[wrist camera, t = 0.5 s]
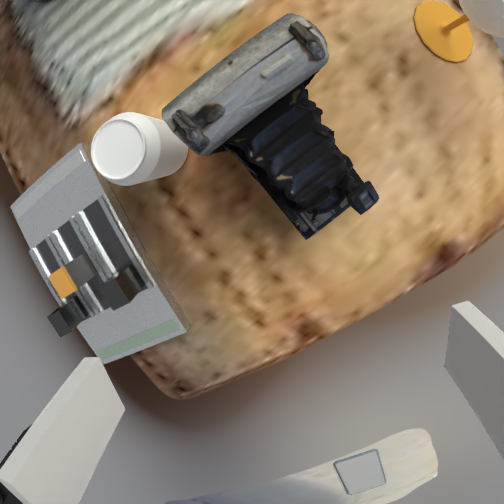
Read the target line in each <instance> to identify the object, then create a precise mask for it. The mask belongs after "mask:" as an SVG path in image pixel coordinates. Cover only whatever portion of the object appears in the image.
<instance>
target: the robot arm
mask: <svg viewBox="0 0 504 504" xmlns="http://www.w3.org/2000/svg"><path fill="white" fill-rule="evenodd" d="M33 1H35V2H47V1H51V0H33ZM444 367H445V368H446V370H447V371H448V373H449V374H450V375H451V377H452V378H453V380H454V381H455V383H456V384H457V386H458V387H459V389H460V390H461V392H462V393H463V395H464V396H465V398H466V399H467V401H468V402H469V404H470V405H471V407H472V408H473V410H474V412H475V413H476V415H477V416H478V418H479V420H480V421H481V423H482V424H483V426H484V428H485V429H486V431H487V432H488V434H489V436H490V437H491V439H492V441H493V442H494V444H495V446H496V447H497V449H498V451H499V453H500V454H501V456H502V458H503V460H504V333H503V332H502V331H501V330H500V329H499V328H498V327H497V326H496V325H495V324H494V323H493V322H492V321H490V320H489V319H488V318H487V317H486V316H485V315H484V314H483V313H481V312H480V311H479V310H478V309H477V308H476V307H475V306H474V305H473V304H471V303H470V302H469V301H466V302H462V303H459V304H455V305H452V308H451V319H450V328H449V336H448V344H447V351H446V358H445V364H444ZM124 411H125V407H124V405H123V404H122V402H121V400H120V398H119V396H118V394H117V392H116V390H115V388H114V386H113V384H112V383H111V380H110V378H109V376H108V374H107V372H106V370H105V368H104V366H103V364H102V362H101V359H100V357H85V358H84V359H83V360H82V361H81V362H80V364H79V365H78V366H77V367H76V369H75V370H74V371H73V372H72V374H71V375H70V376H69V377H68V379H67V380H66V381H65V383H64V384H63V385H62V386H61V388H60V389H59V390H58V391H57V393H56V394H55V395H54V397H53V398H52V399H51V400H50V402H49V403H48V405H47V406H46V407H45V409H44V410H43V411H42V412H41V414H40V415H39V416H38V418H37V419H36V420H35V422H34V423H33V424H32V425H31V426H29V427H28V428H27V429H26V430H24V431H23V433H22V434H21V435H20V437H19V438H18V439H17V443H16V442H15V444H14V445H13V446H12V450H10V451H9V452H8V453H7V455H6V456H5V458H4V459H3V461H2V462H1V463H0V504H79V502H80V500H81V498H82V495H83V493H84V491H85V489H86V487H87V485H88V483H89V481H90V479H91V477H92V475H93V473H94V470H95V468H96V466H97V464H98V462H99V460H100V458H101V456H102V454H103V452H104V450H105V448H106V446H107V444H108V442H109V440H110V438H111V436H112V434H113V432H114V430H115V428H116V426H117V424H118V422H119V420H120V419H121V417H122V415H123V413H124Z"/></svg>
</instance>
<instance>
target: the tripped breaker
mask: <svg viewBox="0 0 504 504" xmlns="http://www.w3.org/2000/svg"><path fill="white" fill-rule="evenodd" d="M96 274H98V272H97V271H96V269H95V267H94V266H93V264H92V262H91V260H90V259H89V257H88V255H87V253H86V252H85V253H83V254H82V255H80V256H79V257H77V258H75V259H74V260H72V261H70V262H69V263H67V264H66V265H64V266H63V267H61V268H60V269H58V270H57V271H55V272H54V273H52V274H51V275H50V276H48V277H49V279H50V280H51V282H52V284H53V286H54V287H55V289H56V291H57V292H58V294H59V296H60V297H61V299H63V298H65V297H67V296H68V295H70V294H71V293H73V292H75V291H76V290H77V289H79V288H80V287H81V286H82V285H84V284H85V283H86V282H87V281H89V280H90V279H91V278H93V277H94V276H95V275H96Z"/></svg>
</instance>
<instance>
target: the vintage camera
mask: <svg viewBox="0 0 504 504" xmlns="http://www.w3.org/2000/svg"><path fill="white" fill-rule="evenodd" d="M328 59H329V53H328V50H327V43H326V40H325V38H324V36H323V35H322V34H321V32H320V31H319V30H318V29H317V27H316V26H315V25H313V24H312V23H311V22H310V21H308V20H306V19H305V18H304V17H302V16H299V15H296V14H292V13H290V14H287V15H285V16H283V17H282V18H280V19H279V20H277V21H276V22H274V23H273V24H271V25H270V26H268V27H267V28H265V29H264V30H262V31H261V32H259V33H258V34H257V35H255V36H254V37H252V38H251V39H250V40H248V41H247V42H245V43H244V44H243V45H241V46H240V47H239V48H237V49H236V50H235V51H233V52H232V53H231V54H229V55H228V56H227V57H225V58H224V59H223V60H222V61H220V62H219V63H218V64H217V65H215V66H214V67H213V68H212V69H210V70H209V71H208V72H206V73H205V74H204V75H203V76H201V77H200V78H199V79H198V80H196V81H195V82H194V83H193V84H191V85H190V86H189V87H188V88H187V89H185V90H184V91H183V92H182V93H181V94H179V95H178V96H177V97H176V98H175V99H174V100H172V101H171V102H170V103H169V104H168V105H167V106H166V107H164V108H163V109H162V118H163V119H164V121H165V122H166V123H167V125H168V126H169V128H170V129H171V131H172V132H173V133H174V134H175V135H176V136H177V137H178V138H179V139H180V140H181V141H182V142H183V143H185V144H186V145H187V146H188V147H189V148H190V149H192V150H193V151H194V152H195V153H196V154H198V155H210V154H213V153H218V152H224V151H226V152H227V151H231V152H232V153H233V154H234V155H235V156H236V157H237V158H238V159H239V160H240V161H241V162H242V163H243V164H244V165H245V167H246V168H247V169H248V171H249V172H250V173H251V175H252V176H253V177H254V178H255V179H256V180H258V182H259V183H260V184H261V185H262V186H263V188H264V189H265V190H266V191H267V192H268V194H269V195H270V196H271V197H272V199H273V200H274V201H275V202H276V204H277V205H278V206H279V207H280V209H281V210H282V211H283V212H284V214H285V215H286V216H287V217H288V218H289V220H290V221H291V222H292V223H293V224H294V226H295V227H296V228H297V230H298V231H299V232H300V233H301V235H302V236H303V237H304V239H305V240H307V239H308V238H310V237H311V236H313V235H314V234H315V233H317V232H318V231H319V230H321V229H322V228H323V227H325V226H326V225H327V224H328V223H330V222H331V221H332V220H333V219H335V218H336V217H337V216H339V215H340V214H341V213H342V212H344V211H345V210H346V209H347V208H349V207H350V206H351V207H352V208H353V209H355V210H356V211H357V212H358V213H359V214H360V215H361V214H363V213H364V212H366V211H367V210H369V209H370V208H371V207H372V206H373V205H374V204H375V203H376V202H377V201H378V199H379V196H378V194H377V192H376V191H375V189H374V187H373V185H372V183H371V182H370V181H367V182H365V183H364V182H363V181H362V180H361V178H360V177H359V175H358V174H357V173H356V171H355V170H354V169H353V164H352V162H351V160H350V158H349V157H348V156H346V155H345V154H343V153H341V151H340V150H339V149H338V147H337V146H336V145H335V138H334V131H331V129H329V128H328V127H326V126H325V125H322V124H321V115H322V113H323V112H322V110H321V109H319V108H318V107H316V103H314V102H312V101H310V100H308V89H304V88H305V87H306V86H307V85H308V84H309V83H310V81H311V80H312V78H313V77H314V76H315V74H316V73H318V71H319V70H320V69H321V68H322V67H323V66H324V65H325V64H326V63H327V61H328Z"/></svg>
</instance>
